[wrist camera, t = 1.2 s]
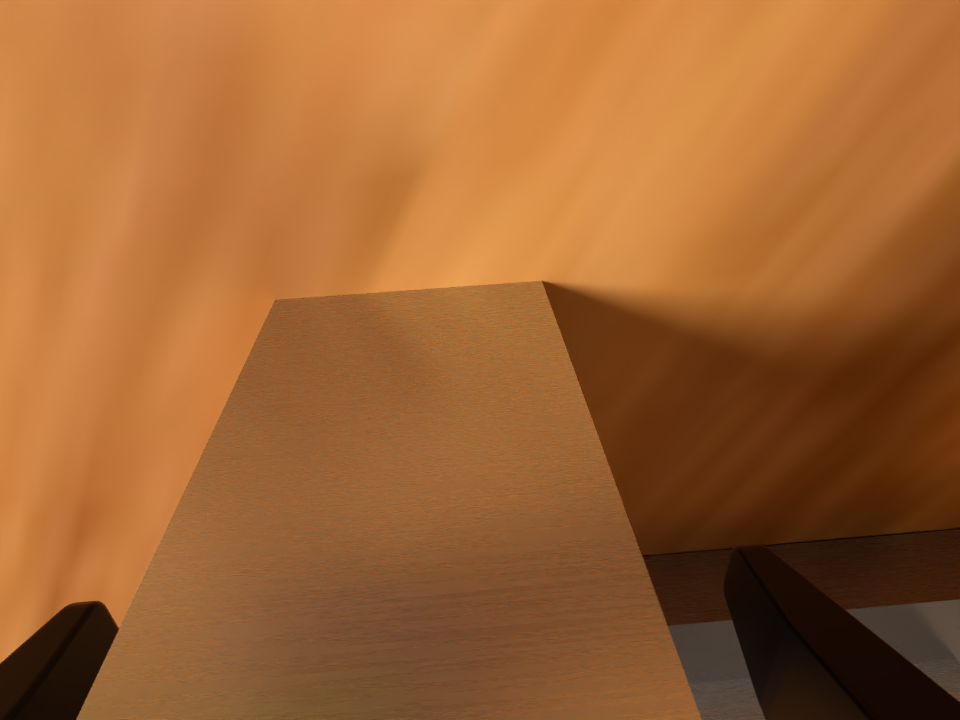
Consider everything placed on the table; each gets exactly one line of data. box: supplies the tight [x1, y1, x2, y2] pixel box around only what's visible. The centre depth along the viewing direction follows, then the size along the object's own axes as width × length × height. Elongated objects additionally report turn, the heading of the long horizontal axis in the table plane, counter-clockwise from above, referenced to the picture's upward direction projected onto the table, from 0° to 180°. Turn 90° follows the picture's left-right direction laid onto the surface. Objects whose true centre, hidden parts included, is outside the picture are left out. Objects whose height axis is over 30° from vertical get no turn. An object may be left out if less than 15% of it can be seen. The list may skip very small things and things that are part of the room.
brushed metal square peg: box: [76, 281, 702, 720], centre depth 9 cm, size 5×6×9 cm
